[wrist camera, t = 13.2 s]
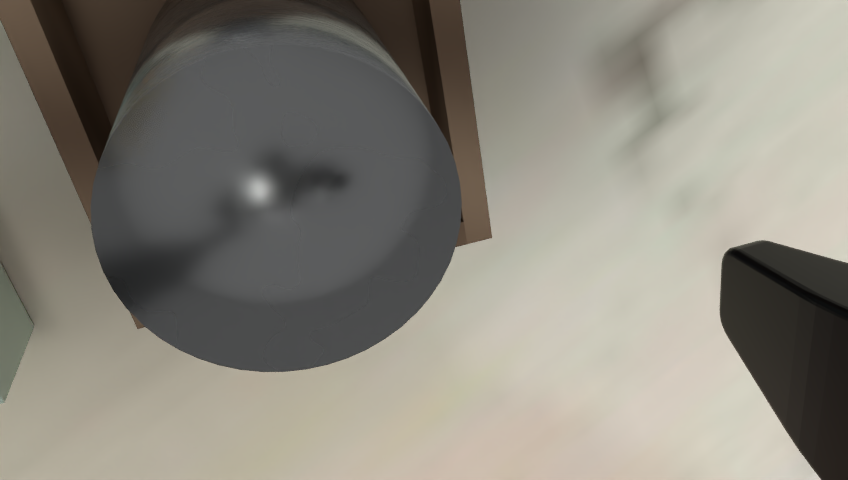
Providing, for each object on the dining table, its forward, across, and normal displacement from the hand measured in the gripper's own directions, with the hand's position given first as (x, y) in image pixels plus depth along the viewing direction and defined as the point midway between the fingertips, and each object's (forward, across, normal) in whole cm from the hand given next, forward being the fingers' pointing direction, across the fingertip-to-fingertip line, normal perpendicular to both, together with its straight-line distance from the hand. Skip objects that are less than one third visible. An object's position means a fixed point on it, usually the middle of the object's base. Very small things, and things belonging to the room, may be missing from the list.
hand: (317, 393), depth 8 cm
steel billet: (+11, 0, 0) cm, 11 cm away
